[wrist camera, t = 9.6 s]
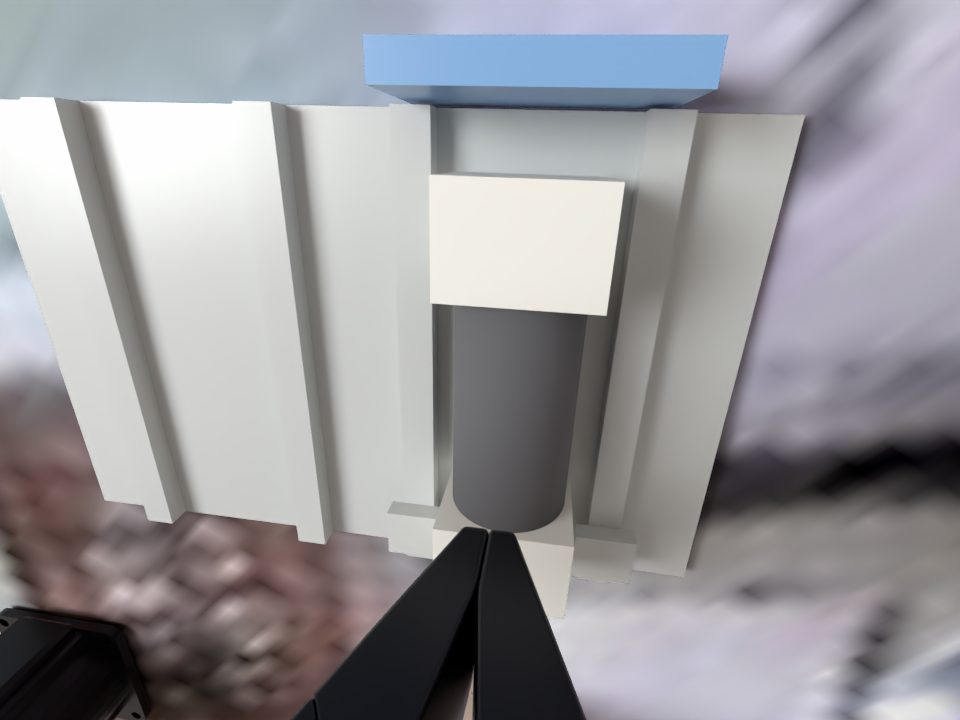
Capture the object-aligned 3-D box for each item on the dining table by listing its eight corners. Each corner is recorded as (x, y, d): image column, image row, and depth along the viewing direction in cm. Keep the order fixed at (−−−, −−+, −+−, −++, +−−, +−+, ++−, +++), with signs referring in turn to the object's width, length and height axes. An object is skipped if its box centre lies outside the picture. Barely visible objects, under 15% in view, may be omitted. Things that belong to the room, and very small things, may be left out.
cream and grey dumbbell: (562, 525, 16) (564, 618, 13) (457, 512, 16) (432, 599, 13) (605, 176, 12) (625, 181, 9) (462, 171, 12) (429, 174, 9)
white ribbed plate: (680, 567, 16) (710, 661, 13) (113, 493, 19) (28, 557, 16) (808, 71, 11) (910, 34, 8) (-28, 64, 13) (-205, 34, 10)
